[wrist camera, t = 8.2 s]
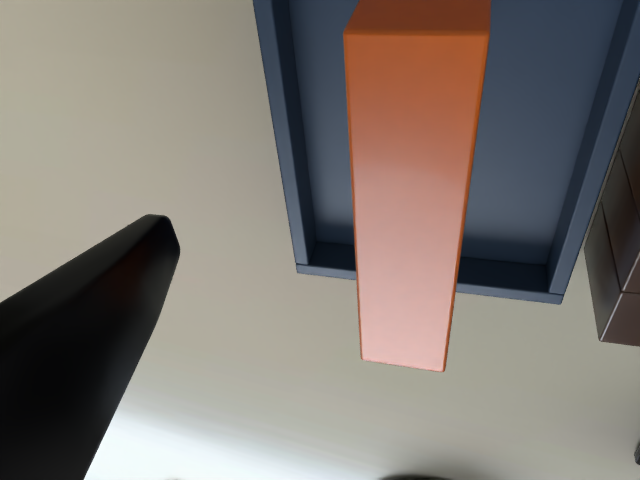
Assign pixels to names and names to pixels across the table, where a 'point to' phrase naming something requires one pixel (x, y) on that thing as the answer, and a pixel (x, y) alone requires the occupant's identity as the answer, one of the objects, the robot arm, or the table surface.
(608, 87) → the tray
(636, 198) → the rack
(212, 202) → the table surface
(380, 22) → the t handle
